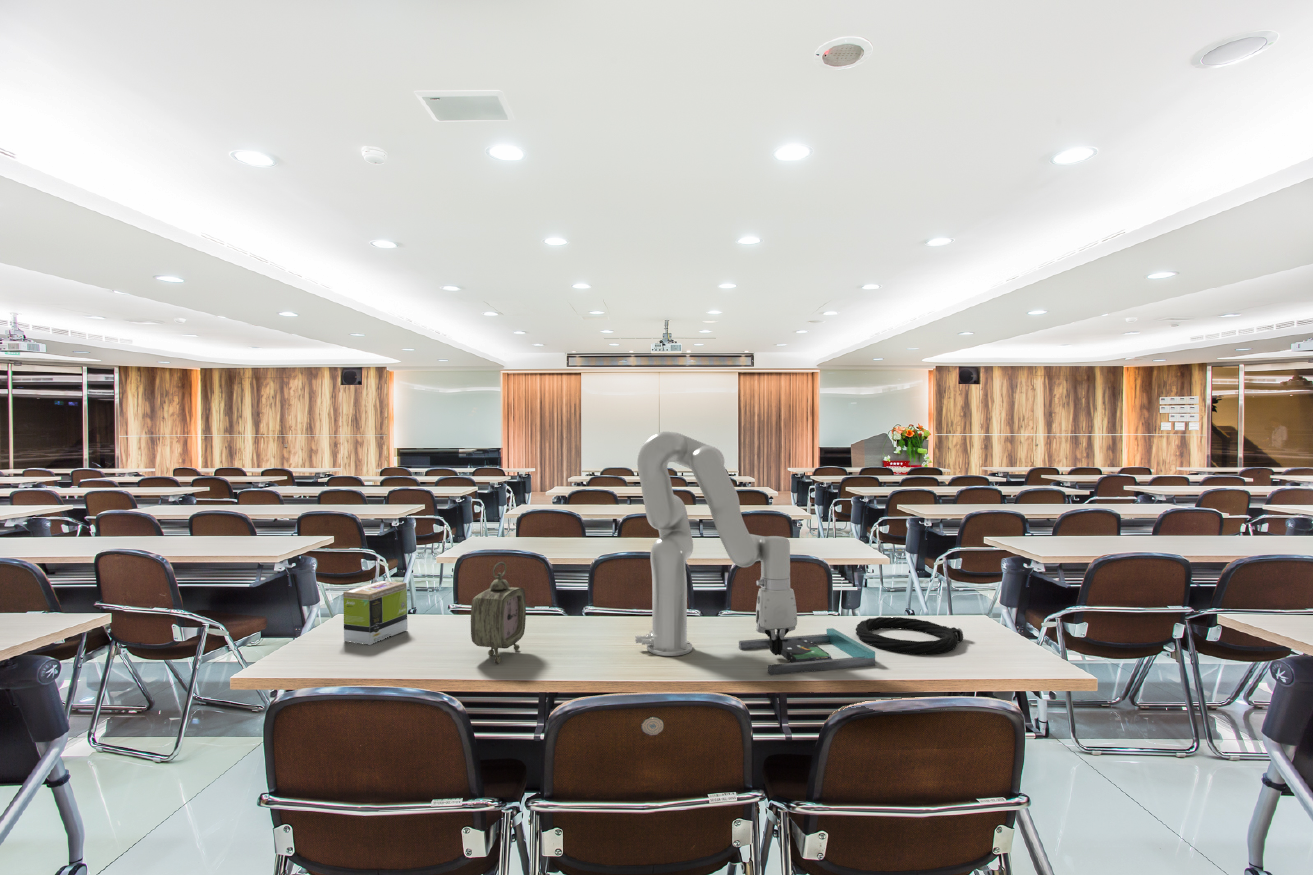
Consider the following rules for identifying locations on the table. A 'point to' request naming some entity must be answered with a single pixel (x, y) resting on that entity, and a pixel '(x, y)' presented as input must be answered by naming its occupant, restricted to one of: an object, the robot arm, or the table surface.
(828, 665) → the guide track
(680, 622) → the robot arm
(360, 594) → the tea box
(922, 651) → the cable lock
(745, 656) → the table surface
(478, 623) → the tabletop clock
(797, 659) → the disk drive
